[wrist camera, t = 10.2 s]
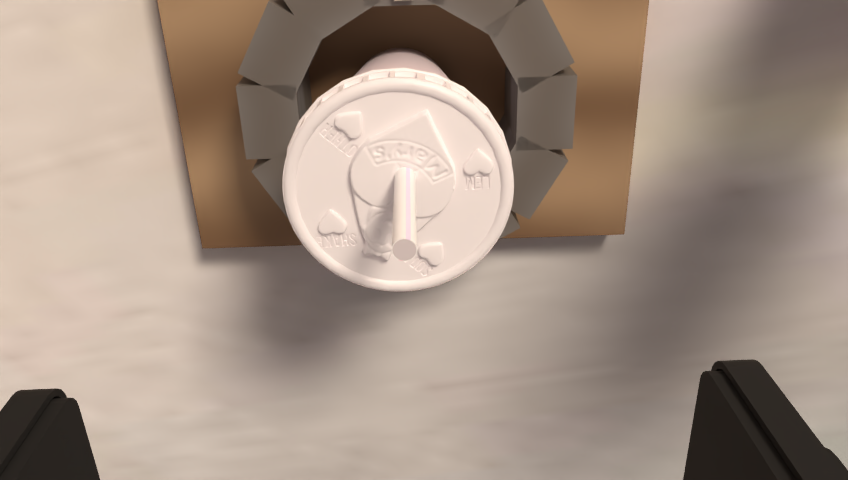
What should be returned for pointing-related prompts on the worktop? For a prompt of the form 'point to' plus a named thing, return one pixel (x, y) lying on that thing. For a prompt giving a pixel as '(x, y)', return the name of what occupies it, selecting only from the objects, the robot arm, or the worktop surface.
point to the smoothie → (398, 176)
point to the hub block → (455, 55)
